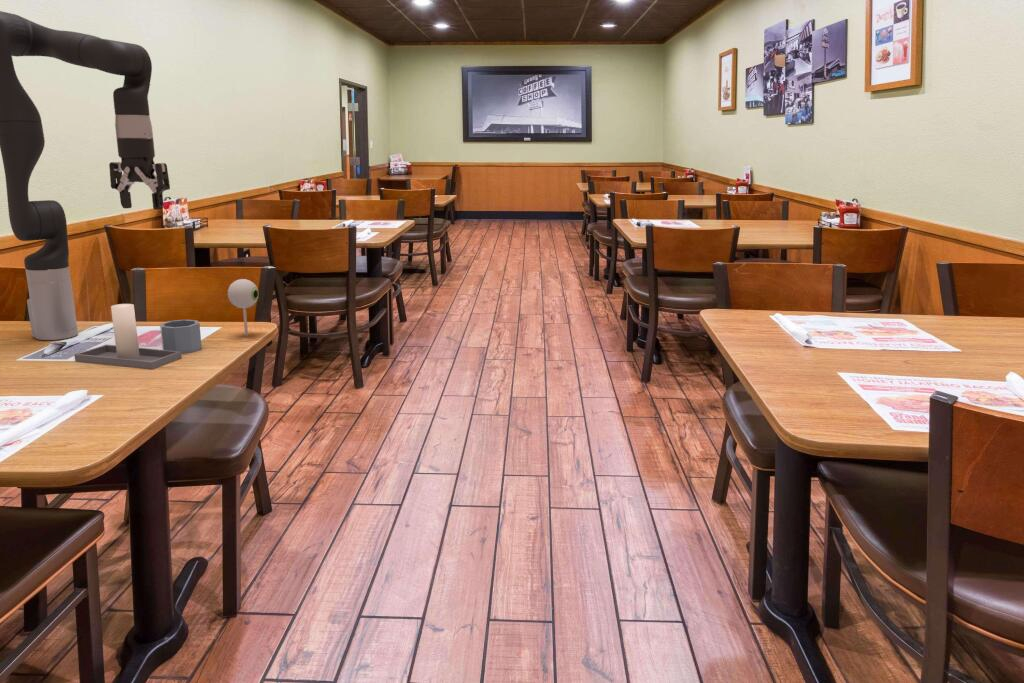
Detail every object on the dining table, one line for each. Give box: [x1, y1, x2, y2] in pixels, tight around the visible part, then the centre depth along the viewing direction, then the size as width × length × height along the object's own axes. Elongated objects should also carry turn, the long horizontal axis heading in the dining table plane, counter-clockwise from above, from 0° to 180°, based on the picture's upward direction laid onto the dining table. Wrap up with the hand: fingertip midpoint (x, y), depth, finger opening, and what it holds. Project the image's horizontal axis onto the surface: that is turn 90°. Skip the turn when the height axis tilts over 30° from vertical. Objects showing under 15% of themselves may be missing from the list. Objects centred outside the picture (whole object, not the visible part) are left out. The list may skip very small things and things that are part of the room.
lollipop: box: [227, 278, 260, 337], centre depth 189 cm, size 7×7×15 cm
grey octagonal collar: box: [159, 319, 203, 355], centre depth 177 cm, size 8×8×7 cm
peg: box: [110, 303, 140, 360], centre depth 167 cm, size 4×4×12 cm
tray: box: [74, 344, 182, 370], centre depth 169 cm, size 20×9×2 cm, turn 74°
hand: (142, 208), depth 179 cm, fingers open, 8 cm apart
